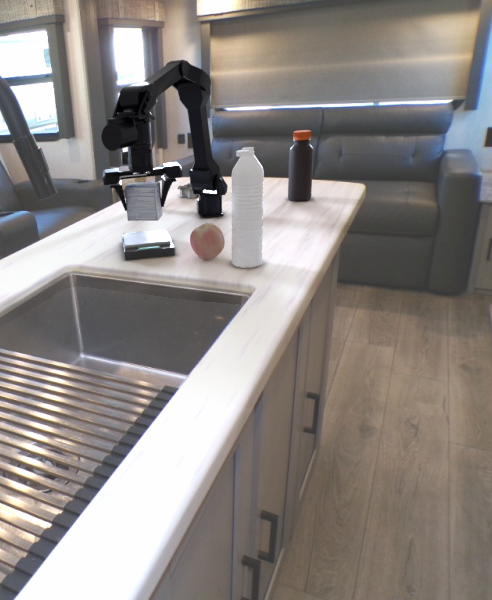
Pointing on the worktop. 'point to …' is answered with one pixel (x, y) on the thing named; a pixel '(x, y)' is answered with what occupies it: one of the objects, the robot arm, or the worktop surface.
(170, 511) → the worktop surface
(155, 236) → the kitchen scale
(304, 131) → the vinegar
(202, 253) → the apple
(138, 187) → the medicine box
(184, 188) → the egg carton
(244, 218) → the water bottle
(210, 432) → the worktop surface
